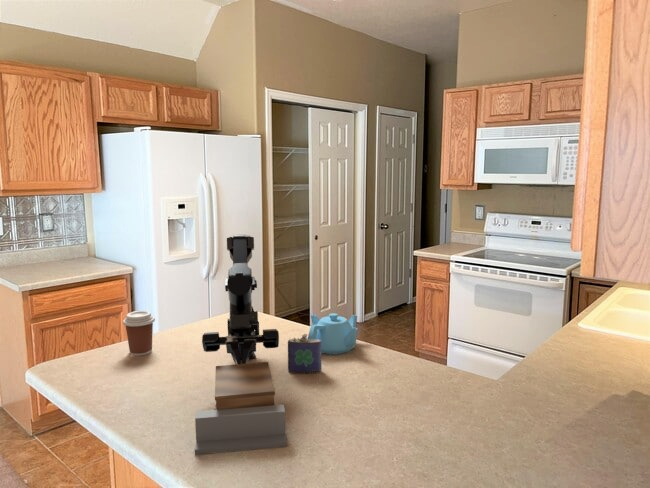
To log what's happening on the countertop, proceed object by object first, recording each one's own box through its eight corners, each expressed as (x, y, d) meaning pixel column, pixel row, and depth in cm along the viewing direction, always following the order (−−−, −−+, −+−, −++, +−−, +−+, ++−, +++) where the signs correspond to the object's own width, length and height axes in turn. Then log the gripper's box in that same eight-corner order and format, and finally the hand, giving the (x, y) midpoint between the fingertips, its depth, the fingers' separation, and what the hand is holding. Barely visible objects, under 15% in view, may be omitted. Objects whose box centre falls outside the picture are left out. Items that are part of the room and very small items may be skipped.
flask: (321, 369, 139) (321, 332, 137) (321, 374, 136) (320, 336, 135) (288, 369, 140) (287, 332, 138) (287, 373, 137) (286, 336, 135)
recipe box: (217, 402, 121) (215, 366, 119) (268, 397, 123) (268, 361, 122) (216, 437, 105) (214, 396, 104) (275, 431, 107) (274, 391, 106)
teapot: (311, 338, 164) (310, 306, 163) (357, 339, 164) (357, 307, 162) (307, 356, 149) (306, 321, 148) (357, 356, 149) (358, 321, 147)
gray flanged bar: (197, 438, 104) (196, 411, 103) (284, 431, 107) (284, 404, 106) (194, 454, 99) (193, 426, 98) (286, 446, 101) (286, 418, 100)
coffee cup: (120, 351, 154) (117, 313, 152) (149, 344, 160) (147, 307, 158) (132, 359, 147) (129, 320, 145) (161, 352, 153) (159, 314, 151)
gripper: (201, 301, 123) (198, 361, 113) (277, 298, 125) (281, 356, 116) (205, 322, 131) (203, 380, 122) (276, 319, 134) (280, 375, 125)
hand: (241, 372), depth 121 cm, fingers closed
